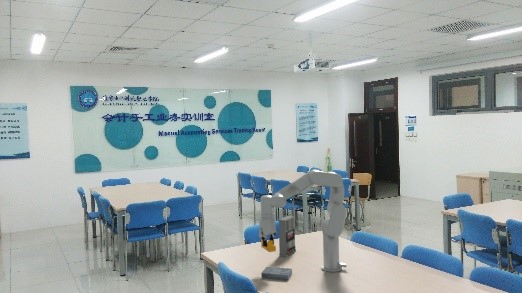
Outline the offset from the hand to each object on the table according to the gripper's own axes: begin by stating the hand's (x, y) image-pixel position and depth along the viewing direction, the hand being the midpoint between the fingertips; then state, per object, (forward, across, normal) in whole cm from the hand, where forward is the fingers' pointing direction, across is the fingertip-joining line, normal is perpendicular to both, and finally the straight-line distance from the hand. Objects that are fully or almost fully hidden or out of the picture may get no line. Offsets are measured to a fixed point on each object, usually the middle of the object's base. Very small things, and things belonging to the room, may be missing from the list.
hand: (268, 245), depth 246 cm
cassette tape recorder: (+17, -34, -18) cm, 42 cm away
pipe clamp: (+3, 0, -1) cm, 3 cm away
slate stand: (+17, +1, +7) cm, 18 cm away
